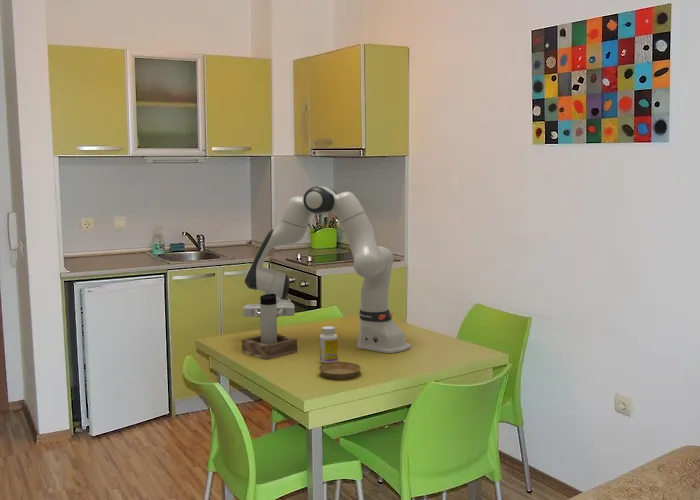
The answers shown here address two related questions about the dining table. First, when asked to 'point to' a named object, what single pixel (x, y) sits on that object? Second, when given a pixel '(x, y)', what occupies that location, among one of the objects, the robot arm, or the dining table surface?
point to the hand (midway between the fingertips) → (268, 314)
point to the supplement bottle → (328, 345)
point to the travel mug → (268, 319)
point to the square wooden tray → (269, 347)
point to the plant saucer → (339, 370)
